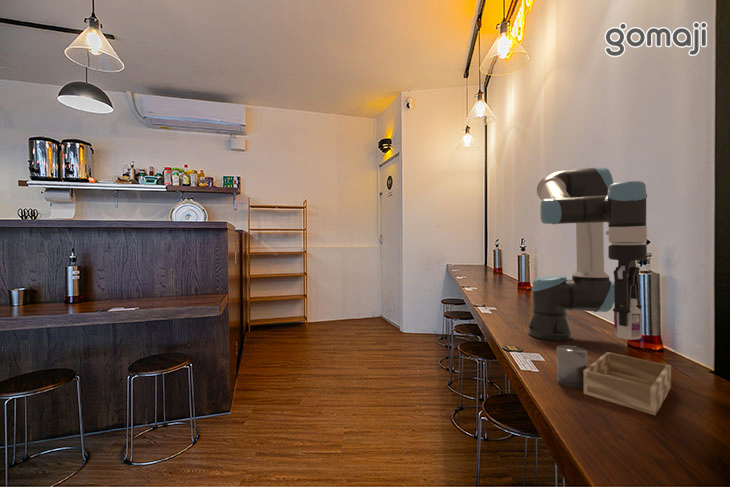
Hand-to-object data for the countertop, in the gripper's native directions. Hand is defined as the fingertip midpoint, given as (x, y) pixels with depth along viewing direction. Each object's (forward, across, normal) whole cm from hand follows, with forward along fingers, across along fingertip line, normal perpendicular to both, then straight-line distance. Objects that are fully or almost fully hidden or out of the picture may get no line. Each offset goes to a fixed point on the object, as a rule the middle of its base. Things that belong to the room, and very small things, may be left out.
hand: (627, 335), depth 83 cm
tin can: (+14, +5, -11) cm, 19 cm away
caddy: (+14, 0, 0) cm, 14 cm away
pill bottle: (+1, 0, 0) cm, 1 cm away
